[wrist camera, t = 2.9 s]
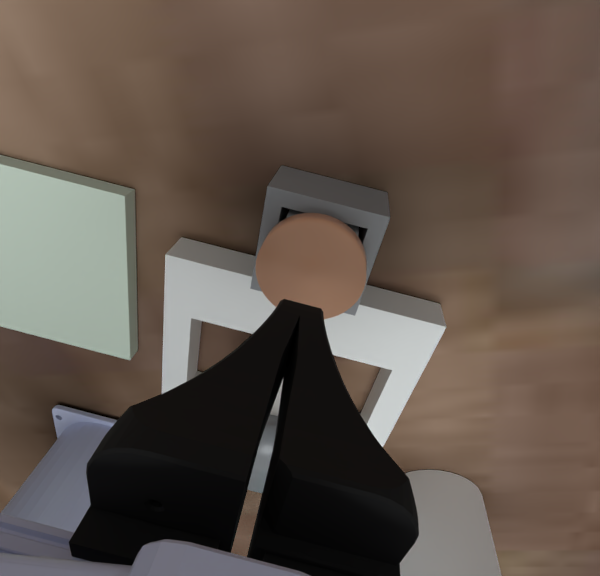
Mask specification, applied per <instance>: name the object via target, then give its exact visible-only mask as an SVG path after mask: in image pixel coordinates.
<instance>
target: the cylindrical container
mask: <svg viewBox="0 0 600 576" xmlns="http://www.w3.org/2000/svg"><path fill="white" fill-rule="evenodd" d="M405 474H406V476H407V477H408V478H409V480H410V483H411V487H412V491H413V495H414V499H415V504H416V508H417V514H418V524H419V536H418V538H417V540H416V542H415V544H414V545H413V546H412V548H411V549H410V550H409V552H408V553H407V554H406V556H405V557H404V558H403V559H402V561H401V562H400V576H502V575H501V571H500V567H499V563H498V559H497V554H496V550H495V546H494V542H493V538H492V534H491V530H490V525H489V521H488V517H487V513H486V509H485V505H484V501H483V496H482V494H481V492H480V490H479V488H478V487H477V486H476V485H475V484H474V483H472V482H471V481H470V480H468V479H466V478H464V477H462V476H460V475H457V474H454V473H451V472H446V471H441V470H417V471H412V472H408V473H405Z"/></svg>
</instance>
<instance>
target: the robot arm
mask: <svg viewBox="0 0 600 576" xmlns="http://www.w3.org/2000/svg"><path fill="white" fill-rule="evenodd" d="M282 380H283V384H282V391H281V398H280V405H279V413H278V420H277V427H276V434H275V440H274V446H273V451H272V455H271V459H270V464H269V468H268V472H267V476H266V480H265V484H264V489H263V493H262V497H261V501H260V505H259V510H258V514H257V518H256V522H255V526H254V530H253V534H252V539H251V543H250V547H249V551H248V555H247V557H244V556H240V555H237V554H233V553H231V549H232V546H233V542H234V538H235V534H236V530H237V527H238V523H239V519H240V515H241V511H242V508H243V504H244V500H245V496H246V492H247V489H248V485H249V481H250V477H251V474H252V470H253V466H254V462H255V458H256V455H257V451H258V447H259V444H260V441H261V438H262V435H263V432H264V429H265V426H266V424H267V421H268V418H269V415H270V413H271V410H272V407H273V405H274V402H275V399H276V396H277V394H278V391H279V388H280V385H281V383H282ZM52 414H53V419H54V424H55V429H56V434H57V440H56V442H55V443H54V444H53V446H52V447H51V448H50V449H49V451H48V452H47V453H46V455H45V456H44V457H43V459H42V460H41V461H40V462H39V464H38V465H37V466H36V468H35V469H34V470H33V472H32V473H31V474H30V475H29V477H28V478H27V479H26V481H25V482H24V483H23V485H22V486H21V487H20V488H19V490H18V491H17V492H16V494H15V495H14V496H13V498H12V499H11V500H10V502H9V503H8V504H7V505H6V507H5V508H4V509H3V511H2V512H1V513H0V576H400V562H401V561H402V559H403V558H404V557H405V556H406V554H407V553H408V552H409V550H410V549H411V548H412V546H413V545H414V544H415V542H416V540H417V538H418V536H419V524H418V514H417V508H416V504H415V499H414V495H413V491H412V487H411V483H410V480H409V478H408V477H407V476H406V474H405V473H404V472H403V471H402V470H401V469H400V467H399V466H398V465H397V464H396V463H395V462H394V461H393V459H392V458H391V457H390V456H389V455H388V454H387V452H386V451H385V450H384V449H383V447H382V446H381V445H380V443H379V442H378V441H377V439H376V438H375V437H374V435H373V434H372V432H371V430H370V429H369V427H368V426H367V424H366V423H365V421H364V420H363V418H362V417H361V415H360V413H359V412H358V410H357V408H356V406H355V404H354V403H353V401H352V399H351V397H350V395H349V393H348V391H347V389H346V387H345V385H344V383H343V380H342V378H341V376H340V373H339V371H338V368H337V366H336V363H335V360H334V357H333V354H332V351H331V347H330V344H329V341H328V337H327V333H326V328H325V323H324V315H323V311H322V309H321V308H318V307H314V306H310V305H306V304H302V303H298V302H294V301H290V300H287V299H283V300H281V301H280V302H279V304H278V305H277V307H276V308H275V310H274V311H273V312H272V314H271V315H270V316H269V317H268V318H267V320H266V321H265V322H264V323H263V324H262V325H261V326H260V327H259V328H258V329H257V330H256V331H255V332H254V333H253V334H252V335H251V336H250V337H249V338H248V339H247V340H246V341H244V342H243V343H242V344H241V345H240V346H239V347H238V348H236V349H235V350H234V351H233V352H231V353H230V354H229V355H228V356H226V357H225V358H224V359H222V360H221V361H219V362H218V363H217V364H215V365H214V366H212V367H210V368H209V369H207V370H206V371H204V372H203V373H201V374H199V375H198V376H196V377H194V378H193V379H191V380H189V381H187V382H185V383H183V384H181V385H179V386H177V387H175V388H173V389H171V390H169V391H167V392H165V393H163V394H161V395H158V396H156V397H153V398H151V399H148V400H146V401H143V402H141V403H139V404H136V405H133V406H130V407H129V408H128V409H127V410H126V411H125V413H124V414H123V415H122V416H121V417H120V418H119V419H118V420H115V419H111V418H108V417H104V416H100V415H96V414H92V413H89V412H85V411H81V410H77V409H73V408H70V407H66V406H62V405H56V406H55V407H54V408H53V409H52Z"/></svg>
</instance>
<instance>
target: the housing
mask: <svg viewBox="0 0 600 576" xmlns="http://www.w3.org/2000/svg"><path fill="white" fill-rule="evenodd" d="M288 209H292V210H296V211H300V212H304V213H320V214H325V215H328V216H332V217H334V218H336V219H338V220H340V221H342V222H343V223H347V224H351V225H355V226H359V227H360V230H359V234H358V237H359V239H360V240H361V242H362V244H363V247H364V250H365V253H366V262H367V269H366V283H365V287H364V290H363V292H362V294H361V296H360V298H359V299H358V301H357V302H356V303H355V304H354V305H353V306H352V307H351V308H350V309H348V310H347V311H345V312H344V313H342V314H340V315H338V316H335V317H332V318H328V319H324V323H325V328H326V333H327V337H328V341H329V344H330V347H331V351H332V354H333V355H335V356H339V357H343V358H347V359H351V360H355V361H358V362H362V363H366V364H370V365H374V366H378V367H381V369H380V371H379V373H378V375H377V378H376V380H375V382H374V384H373V387H372V389H371V391H370V393H369V396H368V398H367V400H366V402H365V405H364V407H363V409H362V411H361V414H360V415H361V417H362V418H363V420H364V421H365V423H366V424H367V426H368V427H369V429H370V430H371V432H372V434H373V435H374V437H375V438H376V439H377V441H378V442H379V443H380V445H381V446H382V447H383V446H384V444H385V442H386V440H387V438H388V437H389V435H390V433H391V431H392V429H393V427H394V425H395V423H396V421H397V420H398V418H399V416H400V414H401V412H402V410H403V408H404V406H405V404H406V403H407V401H408V399H409V397H410V395H411V393H412V391H413V389H414V387H415V385H416V384H417V382H418V380H419V378H420V376H421V374H422V372H423V370H424V368H425V367H426V365H427V363H428V361H429V359H430V357H431V355H432V353H433V351H434V350H435V348H436V346H437V344H438V342H439V340H440V338H441V336H442V334H443V333H444V331H445V329H446V324H445V320H444V316H443V312H442V308H441V304H439V303H435V302H431V301H428V300H424V299H420V298H416V297H412V296H408V295H404V294H400V293H397V292H393V291H389V290H385V289H381V288H377V287H373V286H369V285H366V284H367V281H368V278H369V275H370V273H371V270H372V267H373V264H374V261H375V259H376V256H377V253H378V250H379V248H380V245H381V242H382V239H383V236H384V234H385V231H386V228H387V225H388V223H389V220H390V210H389V201H388V192H384V191H380V190H377V189H373V188H369V187H365V186H361V185H357V184H353V183H349V182H345V181H341V180H337V179H334V178H330V177H326V176H322V175H318V174H314V173H310V172H306V171H302V170H298V169H294V168H290V167H287V166H283V165H281V167H280V168H279V170H278V171H277V173H276V174H275V176H274V177H273V179H272V180H271V182H270V183H269V185H268V186H267V192H266V198H265V204H264V210H263V216H262V222H261V228H260V234H259V239H258V245H257V251H256V256H253V255H249V254H245V253H241V252H238V251H234V250H230V249H226V248H222V247H218V246H214V245H210V244H207V243H203V242H199V241H195V240H191V239H187V238H183V237H181V238H180V239H179V240H178V241H177V242H176V244H175V245H174V246H173V247H172V248H171V249H170V250H169V251H168V252H167V253H166V254H165V289H164V326H163V364H162V394H163V393H165V392H167V391H169V390H171V389H173V388H175V387H177V386H179V385H181V384H183V383H185V382H187V381H189V380H191V379H193V378H194V377H196V376H198V375H199V374H201V373H203V372H200V371H197V367H198V357H199V346H200V335H201V325H202V321H204V322H208V323H212V324H216V325H220V326H224V327H228V328H231V329H235V330H239V331H243V332H247V333H251V334H253V333H254V332H255V331H256V330H257V329H258V328H259V327H260V326H261V325H262V324H263V323H264V322H265V321H266V320H267V318H268V317H269V316H270V315H271V314H272V312H273V311H274V310H275V308H276V306H274V305H273V304H272V303H271V302H270V301H269V300H268V299H267V298H266V296H265V295H264V294H263V292H262V290H261V288H260V286H259V284H258V281H257V277H256V268H255V267H256V259H257V255H258V253H259V250H260V248H261V246H262V244H263V242H264V240H265V238H266V237H267V235H268V233H269V232H270V231H271V230H272V228H273V227H274V226H276V225H277V224H278V223H279V222H281V221H282V220H284V219H286V217H287V212H288Z"/></svg>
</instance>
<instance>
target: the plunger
mask: <svg viewBox="0 0 600 576" xmlns="http://www.w3.org/2000/svg"><path fill="white" fill-rule="evenodd" d="M358 234H359V226H355V225H351V224H347V223H343V222H342V221H340V220H338V219H336V218H334V217H332V216H328V215H325V214H320V213H304V212H300V211H296V210H292V209H290V210H289V213H288V215H287V217H286V219H284V220H282V221H281V222H279V223H278V224H277V225H276V226H274V227H273V228H272V230H271V231H270V232H269V233H268V235H267V237H266V238H265V240H264V242H263V244H262V246H261V248H260V250H259V253H258V255H257V259H256V267H255V268H256V277H257V281H258V284H259V286H260V288H261V290H262V292H263V294H264V295H265V296H266V298H267V299H268V300H269V301H270V302H271V303H272V304H273V305H274V306H276V307H277V305H278V304H279V302H280V301H281V300H283V299H287V300H290V301H294V302H298V303H302V304H306V305H310V306H314V307H318V308H321V309H322V311H323V315H324V319H328V318H332V317H335V316H338V315H340V314H342V313H344V312H345V311H347V310H348V309H350V308H351V307H352V306H353V305H354V304H355V303H356V302H357V301H358V299H359V298H360V296H361V294H362V292H363V290H364V287H365V283H366V269H367V262H366V253H365V250H364V247H363V244H362V242H361V240H360V239H359V237H358Z"/></svg>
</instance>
